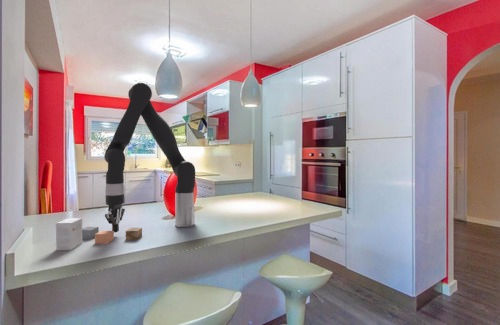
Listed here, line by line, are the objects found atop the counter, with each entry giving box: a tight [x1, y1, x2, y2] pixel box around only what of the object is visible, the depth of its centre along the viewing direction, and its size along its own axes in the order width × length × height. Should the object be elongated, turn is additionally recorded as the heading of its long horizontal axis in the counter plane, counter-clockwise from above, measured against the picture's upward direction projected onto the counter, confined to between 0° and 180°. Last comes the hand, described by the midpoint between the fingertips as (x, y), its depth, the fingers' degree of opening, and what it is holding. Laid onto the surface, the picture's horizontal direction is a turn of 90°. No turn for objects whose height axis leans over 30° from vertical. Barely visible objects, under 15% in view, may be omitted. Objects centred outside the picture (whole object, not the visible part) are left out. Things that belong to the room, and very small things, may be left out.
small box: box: [55, 217, 83, 251], centre depth 103 cm, size 8×6×10 cm
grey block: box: [82, 226, 100, 240], centre depth 115 cm, size 5×5×4 cm
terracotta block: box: [94, 230, 115, 245], centre depth 109 cm, size 5×5×4 cm
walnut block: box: [125, 227, 143, 241], centre depth 114 cm, size 5×5×4 cm
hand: (115, 231), depth 117 cm, fingers closed
